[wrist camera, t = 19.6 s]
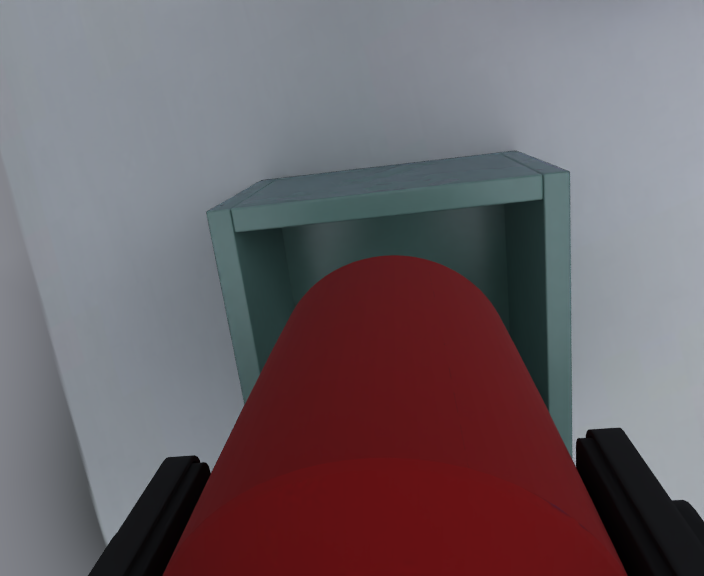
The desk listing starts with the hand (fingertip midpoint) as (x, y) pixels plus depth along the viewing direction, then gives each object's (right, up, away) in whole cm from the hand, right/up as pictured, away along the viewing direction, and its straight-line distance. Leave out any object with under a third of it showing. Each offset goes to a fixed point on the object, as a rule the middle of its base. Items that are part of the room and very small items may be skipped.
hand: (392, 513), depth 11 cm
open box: (+2, +3, +20) cm, 20 cm away
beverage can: (+1, +2, +7) cm, 7 cm away
